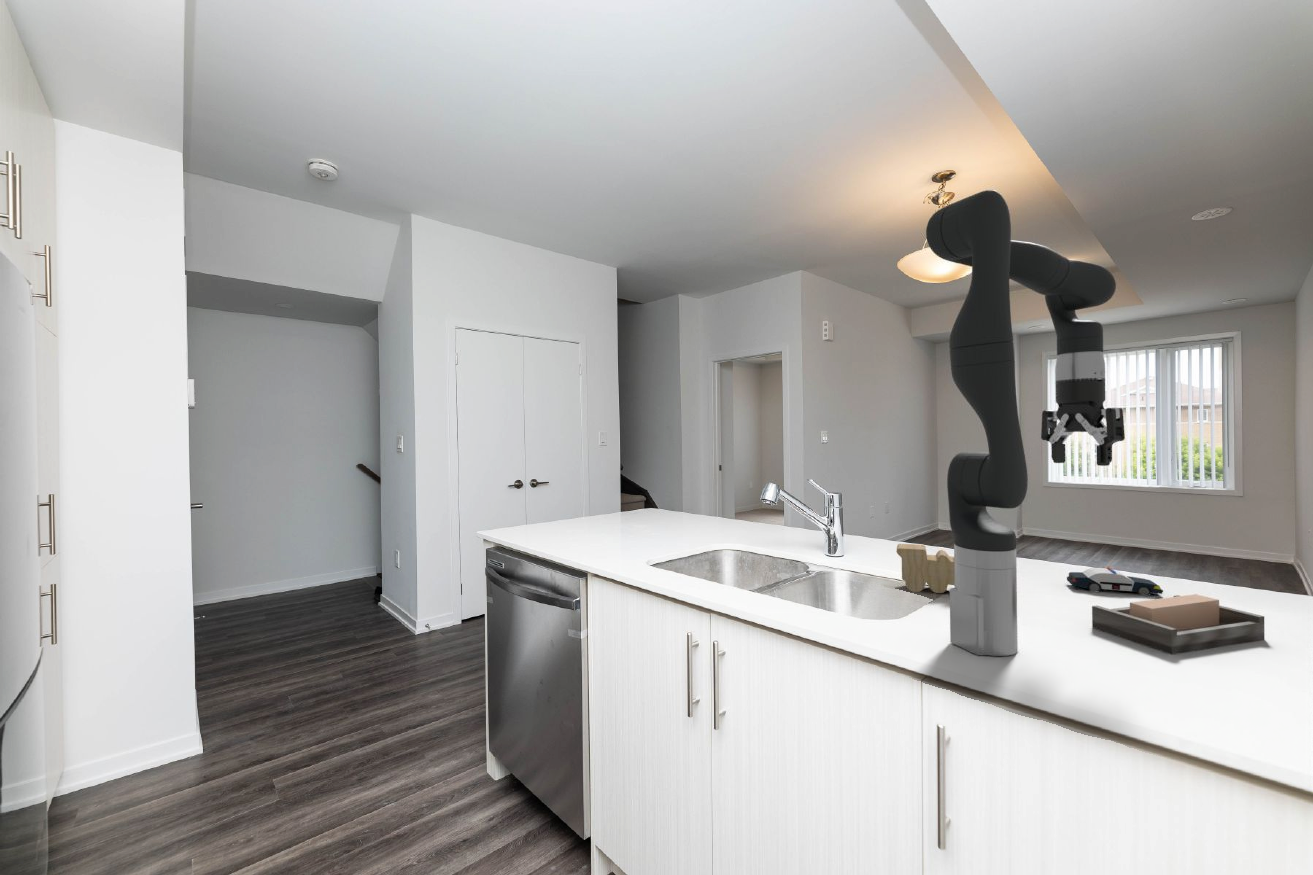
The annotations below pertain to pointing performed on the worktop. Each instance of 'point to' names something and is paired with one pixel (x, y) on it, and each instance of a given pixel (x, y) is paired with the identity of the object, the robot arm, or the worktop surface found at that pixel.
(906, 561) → the toy train
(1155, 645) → the charcoal tray
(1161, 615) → the tan rectangular block
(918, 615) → the worktop surface
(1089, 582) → the toy car
